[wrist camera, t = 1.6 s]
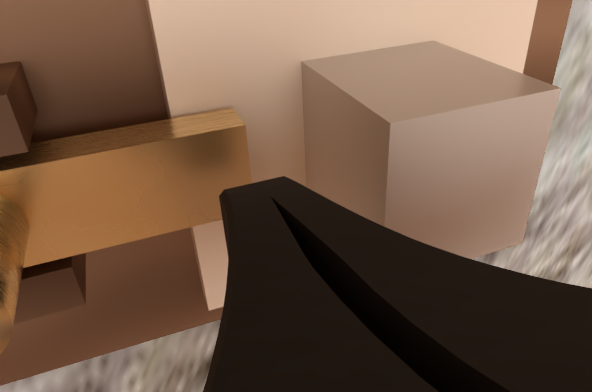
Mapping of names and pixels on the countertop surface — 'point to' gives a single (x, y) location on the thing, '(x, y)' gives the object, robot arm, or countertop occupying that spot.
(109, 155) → the brass bolt
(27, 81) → the box base
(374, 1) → the cover
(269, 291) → the robot arm
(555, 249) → the countertop surface
